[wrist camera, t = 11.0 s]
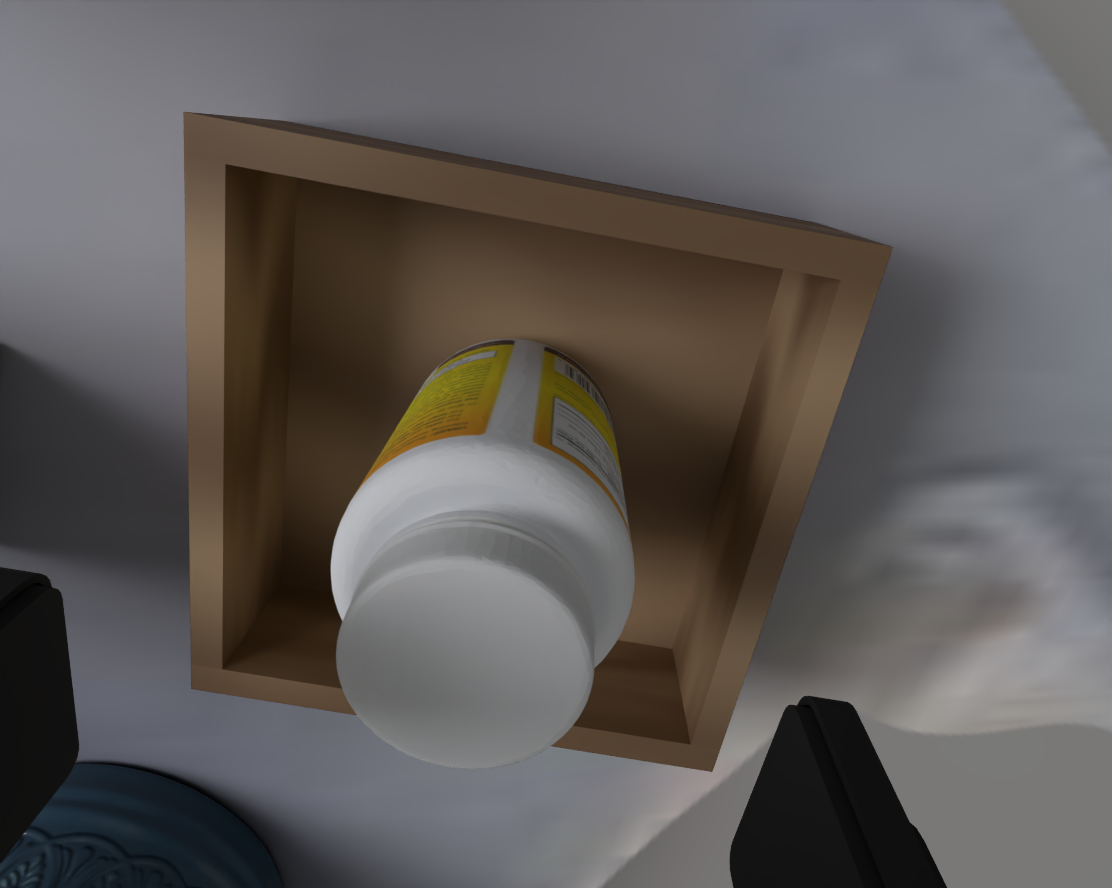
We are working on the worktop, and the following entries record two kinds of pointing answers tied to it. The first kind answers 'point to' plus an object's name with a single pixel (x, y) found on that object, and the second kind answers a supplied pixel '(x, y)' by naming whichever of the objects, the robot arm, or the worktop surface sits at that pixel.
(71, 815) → the canister
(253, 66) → the worktop surface
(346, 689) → the supplement bottle
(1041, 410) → the worktop surface
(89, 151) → the worktop surface
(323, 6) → the worktop surface
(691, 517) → the crate
